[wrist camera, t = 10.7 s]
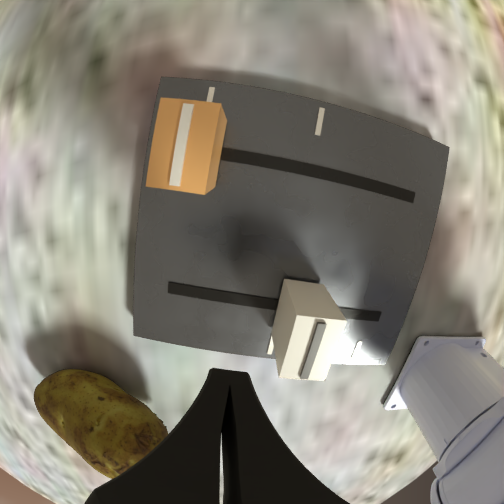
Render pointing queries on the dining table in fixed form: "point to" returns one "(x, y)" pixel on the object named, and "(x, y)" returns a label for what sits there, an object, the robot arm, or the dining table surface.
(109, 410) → the potato
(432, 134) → the dining table surface
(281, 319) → the fader far
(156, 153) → the fader near
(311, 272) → the console
